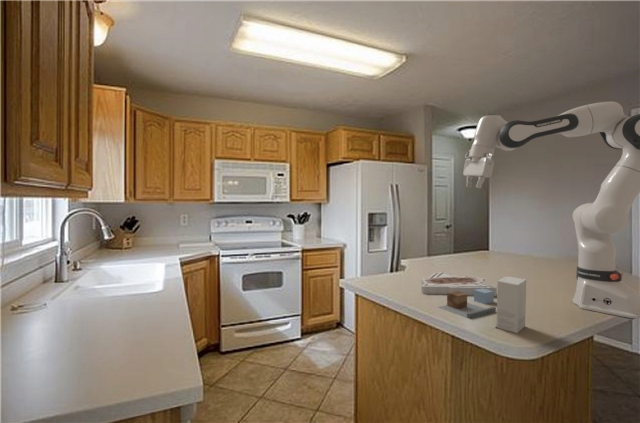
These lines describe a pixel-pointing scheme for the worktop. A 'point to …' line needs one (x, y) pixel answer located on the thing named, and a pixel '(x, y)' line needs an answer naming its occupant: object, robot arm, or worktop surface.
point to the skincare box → (511, 304)
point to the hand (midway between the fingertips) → (473, 187)
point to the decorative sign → (454, 284)
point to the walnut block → (457, 299)
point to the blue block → (484, 296)
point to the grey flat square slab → (469, 310)
